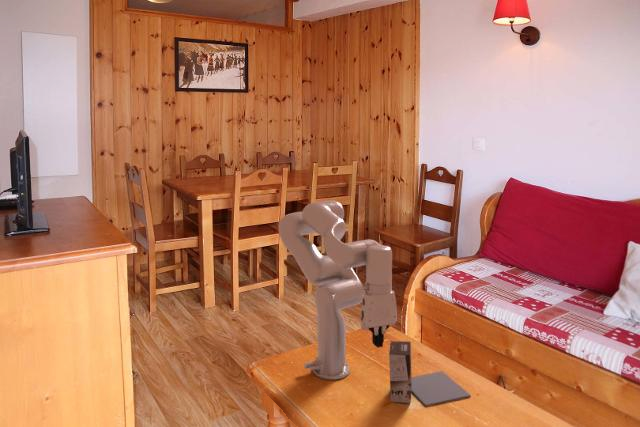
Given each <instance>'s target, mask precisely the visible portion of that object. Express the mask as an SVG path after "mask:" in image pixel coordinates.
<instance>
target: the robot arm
mask: <svg viewBox="0 0 640 427" xmlns="http://www.w3.org/2000/svg"><path fill="white" fill-rule="evenodd" d="M344 218H345V210H344V207H343V205H342V204H341V203H340V202H338V201H337V200H334V199H330V200H322V201H316V202H310V203H308V204H307V205H306V206H305V207H304V208H303V209H302V211H296V212H292V213H288V214H285V215H284V216H282V217H281V218H280V220H279V221H278V234H279V238H280V240H281V242H282V244H283V245H284V247H285V248H286V249H287V250H288V252H289V253H290V254H291V255H292V256H293V258H294V259H295V261H296V263H297V265H298V266H299V268H300V269H301V272H302V273H303V275H304V277H305V278H306V280H307V281H308V282H309V284H311V285H312V286H318V287H317V288H316V289H315V291H314V302H315V308H316V316H317V319H316V320H317V356H316V357H314V360H312V361H309V362H304V363H303V368H304V369H309V370H310V371H311V372H312V371H313V374H314V375H315V376H317V377H318V378H321V379H324V380H335V381H336V380H340V379H344V378H346V377H347V376H348V375H349V374H350V372H351V367H350V365H349V364H348V363H347V362H346V348H347V346H346V345H347V344H346V343H347V342H346V341H347V340H346V338H347V329H346V328H347V323H346V319H345V317H344V316H343V314H342V312H341V310H344V309H347V308H350V307H354V306H357V305H359V304H361V308H360V321H361V325H360V328H361V329H362V330H363V331H370V332H371V333H372V337H371V340H372V344H373V345H374V346H375V347H376V348H383V346H384V340H385V339H384V338H385V334H386V331H387V330H388V329H389V328H390V327H393V326H395V325H396V323H397V319H398V311H397V310H398V309H397V299H396V294H395V291H394V290H393V289H392V285H393V284H392V282H393V279H392V278H393V251H392V248H391V247H390V246H388V245H383V244H380V243H378V242H377V241H376V240H373V239H369V238H368V239H363V240H355V241H351V242H346V243H345V242H342V241H341V239H342V238H343V237H344V236H345V234H346V231H347V224H346V222H345V221H344ZM314 234H318V235H319V236H320V237H321V238H322V239H323V249H324V251H325V253H326V255H324V254H322V253H321V252H320V250H319V249H318V247H317V246H316V245H315V244H314V243H313V242H312V241H310V240H309V239H308V238H306V237H304V236H308V235H314ZM361 266H365V283H364V285H363V284H362V281H361V280H360V278H359V277H358V275H357V273H356V272H355V270H354V269H355V268H357V267H358V268H359V267H361Z"/></svg>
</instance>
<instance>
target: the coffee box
mask: <svg viewBox="0 0 640 427" xmlns="http://www.w3.org/2000/svg"><path fill="white" fill-rule="evenodd" d="M411 343H412V342H411V341H395V340H394V341H390V345H389V353H388V356H389V361H388V362H389V388H390V389H389V390H390V402H392V403H404V404H405V403H406V404H410V403H411V402H412V392H411V390H412V377H413V375H412V351H411V349H412V347H411V346H412V345H411Z"/></svg>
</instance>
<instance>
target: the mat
mask: <svg viewBox="0 0 640 427" xmlns="http://www.w3.org/2000/svg"><path fill="white" fill-rule="evenodd" d="M411 394H413V395H414V396H415V397H416V398H417V399H418V401H419V402H421V403H422V404H423V405H424V407H430V406H434V405H439V404H444V403H448V402H449V403H450V402H454V401H458V400H462V399H468V398H471V394H470V393H469V392H467V391H466V390H465V389H464V388H463V387H462V386H460V384H458V383H457V382H456V381H455V380H453V379H452V378H451V377H450V376H449V375H448V374H446V373H445V372H444V371H443V370H441V371H436V372H431V373H426V374H421V375H415V376H412V390H411Z"/></svg>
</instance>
